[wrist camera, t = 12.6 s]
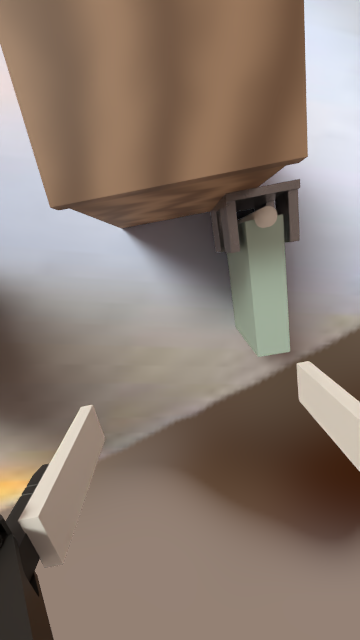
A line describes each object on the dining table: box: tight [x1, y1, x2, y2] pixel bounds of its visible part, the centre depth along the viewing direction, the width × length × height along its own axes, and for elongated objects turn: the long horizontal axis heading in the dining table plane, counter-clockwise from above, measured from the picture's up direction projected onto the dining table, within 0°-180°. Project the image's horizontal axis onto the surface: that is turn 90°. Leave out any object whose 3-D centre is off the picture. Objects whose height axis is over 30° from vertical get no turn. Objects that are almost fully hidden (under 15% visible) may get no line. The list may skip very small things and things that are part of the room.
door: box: [227, 206, 290, 357], centre depth 33 cm, size 5×17×13 cm, turn 10°
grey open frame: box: [210, 179, 300, 253], centre depth 31 cm, size 8×6×12 cm
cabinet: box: [0, 0, 308, 228], centre depth 25 cm, size 18×13×21 cm
